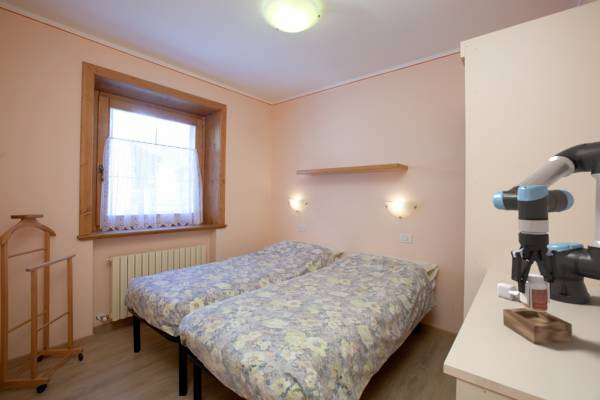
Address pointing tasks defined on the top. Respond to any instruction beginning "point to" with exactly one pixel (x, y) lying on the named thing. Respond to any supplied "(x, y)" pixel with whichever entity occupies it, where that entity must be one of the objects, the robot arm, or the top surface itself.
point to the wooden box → (537, 326)
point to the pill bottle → (536, 294)
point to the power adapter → (507, 291)
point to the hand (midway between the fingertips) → (534, 301)
